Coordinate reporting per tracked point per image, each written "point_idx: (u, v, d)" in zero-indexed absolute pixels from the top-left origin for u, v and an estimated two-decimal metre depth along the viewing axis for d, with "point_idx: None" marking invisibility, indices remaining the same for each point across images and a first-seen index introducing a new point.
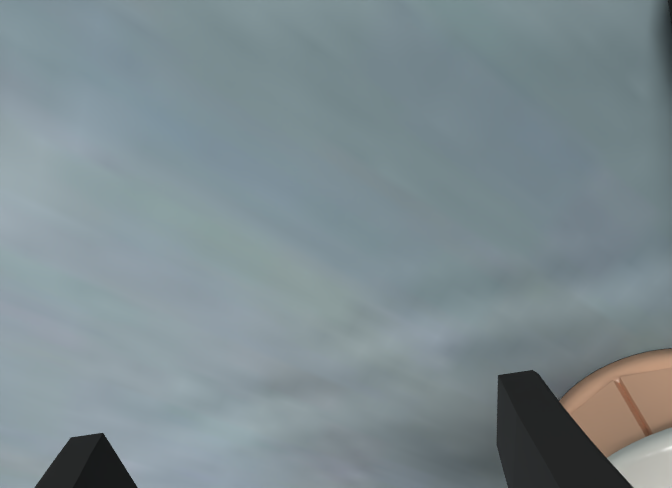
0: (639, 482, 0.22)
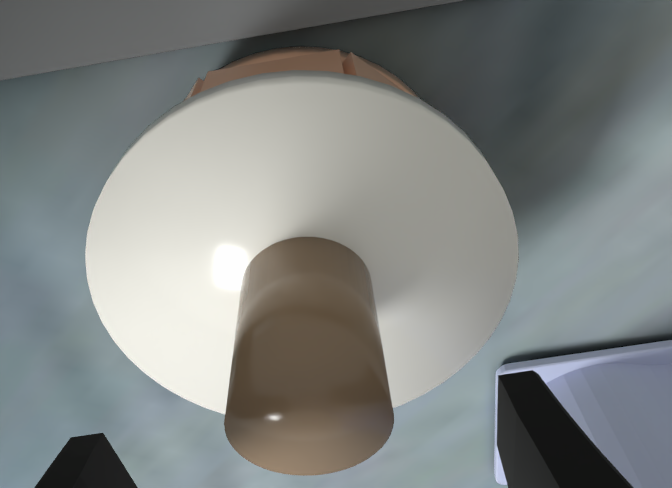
0: (211, 379, 0.16)
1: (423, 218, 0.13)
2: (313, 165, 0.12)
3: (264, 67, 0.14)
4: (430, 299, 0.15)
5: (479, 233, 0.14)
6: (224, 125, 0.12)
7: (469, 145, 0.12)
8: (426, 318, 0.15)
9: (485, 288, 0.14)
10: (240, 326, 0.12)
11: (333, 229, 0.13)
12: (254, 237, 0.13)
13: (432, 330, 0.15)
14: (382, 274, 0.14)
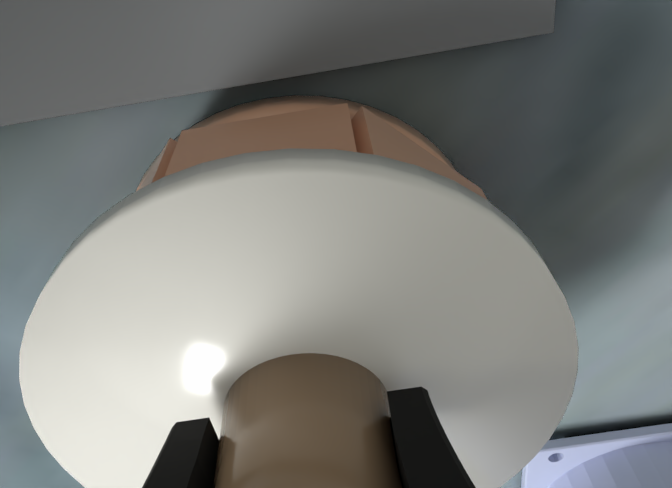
0: None
1: (458, 330, 0.10)
2: (315, 272, 0.09)
3: (252, 127, 0.11)
4: (462, 418, 0.12)
5: (529, 346, 0.10)
6: (195, 226, 0.09)
7: (523, 245, 0.09)
8: (456, 438, 0.12)
9: (533, 405, 0.11)
10: None
11: (341, 343, 0.10)
12: (239, 355, 0.10)
13: (463, 451, 0.12)
14: None
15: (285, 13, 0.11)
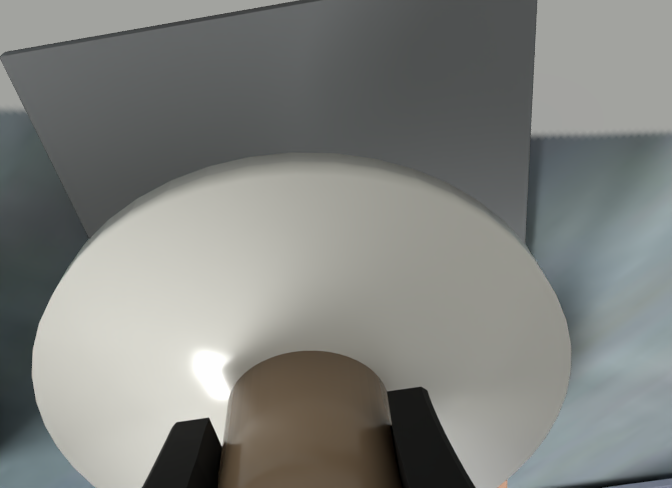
0: None
1: (454, 328, 0.11)
2: (316, 270, 0.10)
3: None
4: (460, 416, 0.12)
5: (523, 343, 0.11)
6: (201, 225, 0.09)
7: (515, 244, 0.10)
8: (455, 436, 0.12)
9: (529, 403, 0.12)
10: (223, 480, 0.09)
11: (341, 341, 0.11)
12: (243, 352, 0.11)
13: (462, 449, 0.13)
14: None
15: None
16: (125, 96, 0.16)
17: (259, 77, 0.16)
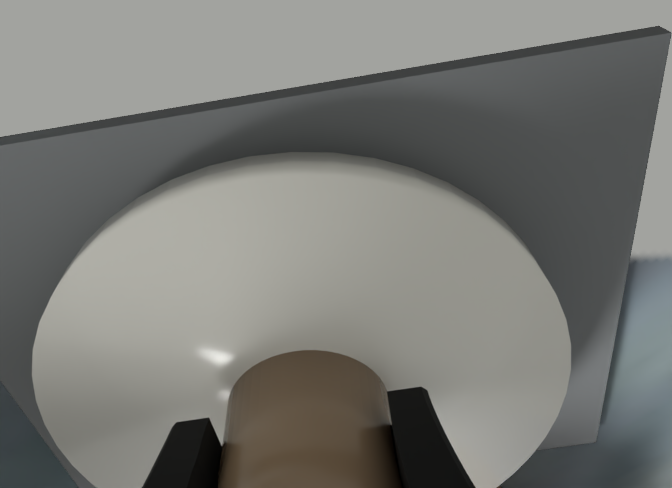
0: None
1: (454, 327, 0.11)
2: (316, 269, 0.10)
3: None
4: (460, 416, 0.12)
5: (523, 342, 0.11)
6: (201, 225, 0.09)
7: (515, 243, 0.10)
8: (455, 436, 0.12)
9: (529, 403, 0.12)
10: (223, 480, 0.09)
11: (340, 341, 0.11)
12: (243, 352, 0.11)
13: (462, 449, 0.13)
14: None
15: None
16: (44, 221, 0.11)
17: None
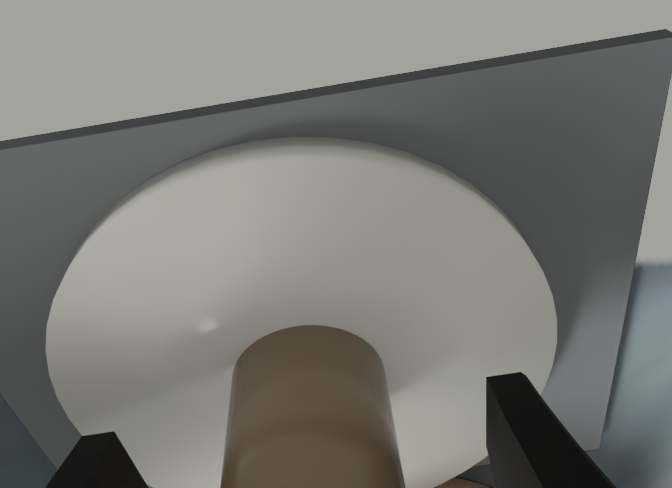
0: (198, 474, 0.14)
1: (447, 303, 0.11)
2: (317, 248, 0.10)
3: None
4: (452, 387, 0.13)
5: (512, 317, 0.11)
6: (208, 206, 0.10)
7: (504, 223, 0.10)
8: (447, 407, 0.13)
9: None
10: (230, 445, 0.10)
11: (340, 316, 0.11)
12: (247, 327, 0.11)
13: (454, 419, 0.13)
14: (397, 363, 0.12)
15: None
16: (39, 228, 0.11)
17: None
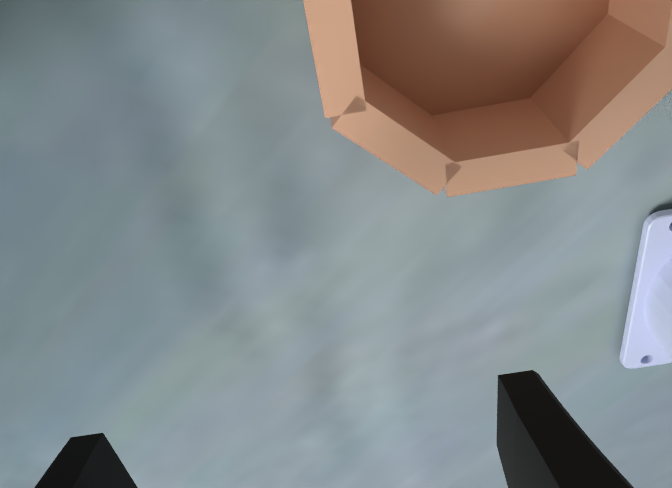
0: None
1: None
2: None
3: None
4: None
5: None
6: None
7: None
8: None
9: None
10: None
11: None
12: None
13: None
14: None
15: None
16: None
17: None
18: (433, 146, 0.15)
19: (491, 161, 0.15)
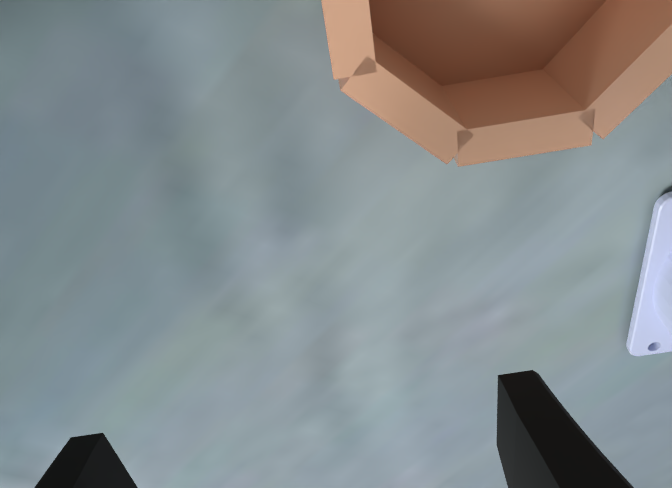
0: None
1: None
2: None
3: None
4: None
5: None
6: None
7: None
8: None
9: None
10: None
11: None
12: None
13: None
14: None
15: None
16: None
17: None
18: (445, 112, 0.14)
19: (504, 129, 0.14)
